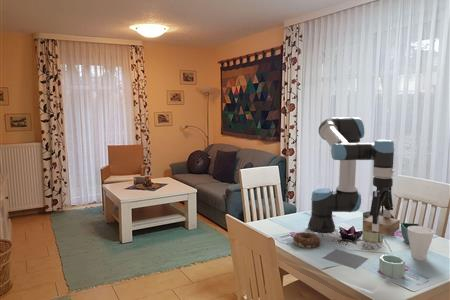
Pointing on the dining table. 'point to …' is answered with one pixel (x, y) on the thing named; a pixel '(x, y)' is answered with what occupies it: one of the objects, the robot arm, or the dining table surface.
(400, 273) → the bowl
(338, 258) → the mat
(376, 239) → the coffee can
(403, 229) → the flower pot
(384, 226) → the board
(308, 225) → the robot arm
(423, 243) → the cup
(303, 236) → the donut
